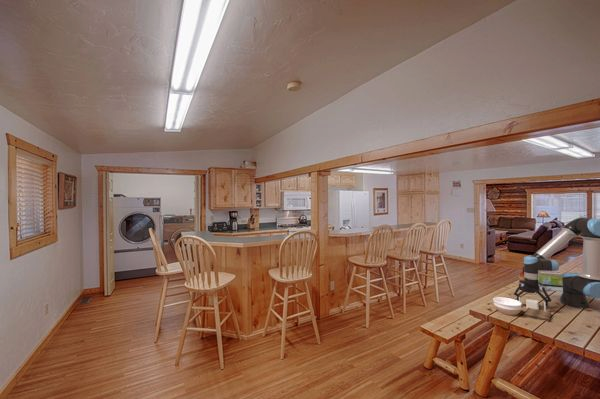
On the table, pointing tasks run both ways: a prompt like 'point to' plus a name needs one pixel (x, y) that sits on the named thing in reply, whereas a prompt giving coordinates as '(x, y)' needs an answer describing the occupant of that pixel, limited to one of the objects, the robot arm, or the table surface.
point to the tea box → (550, 280)
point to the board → (538, 314)
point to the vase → (523, 281)
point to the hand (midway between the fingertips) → (532, 308)
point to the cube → (532, 304)
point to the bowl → (507, 305)
